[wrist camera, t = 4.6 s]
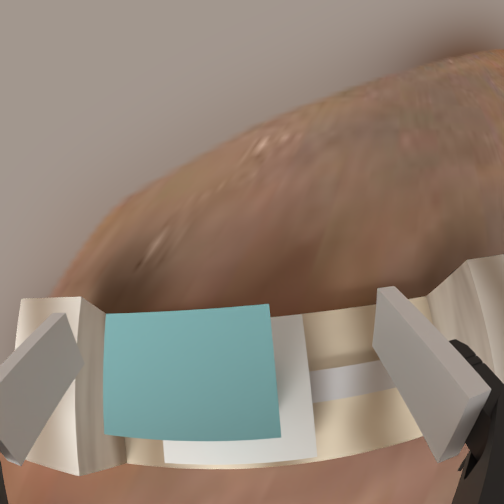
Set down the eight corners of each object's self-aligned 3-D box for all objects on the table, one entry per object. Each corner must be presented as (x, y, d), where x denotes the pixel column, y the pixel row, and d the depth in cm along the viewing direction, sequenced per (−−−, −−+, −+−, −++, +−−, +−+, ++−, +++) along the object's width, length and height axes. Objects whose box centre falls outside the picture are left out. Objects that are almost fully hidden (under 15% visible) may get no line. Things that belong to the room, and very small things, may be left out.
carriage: (297, 326, 20) (334, 205, 8) (310, 449, 16) (379, 519, 4) (174, 336, 20) (61, 235, 8) (179, 455, 16) (50, 506, 5)
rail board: (461, 291, 22) (514, 246, 15) (483, 407, 17) (549, 396, 10) (82, 327, 23) (22, 292, 16) (82, 450, 18) (14, 455, 11)
